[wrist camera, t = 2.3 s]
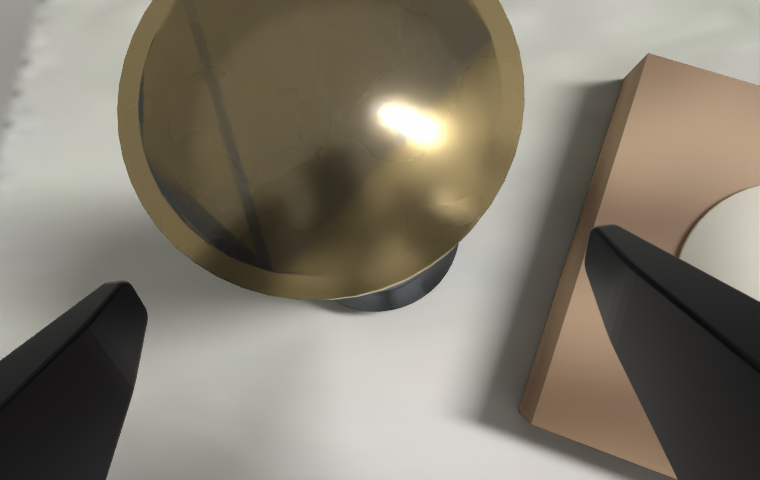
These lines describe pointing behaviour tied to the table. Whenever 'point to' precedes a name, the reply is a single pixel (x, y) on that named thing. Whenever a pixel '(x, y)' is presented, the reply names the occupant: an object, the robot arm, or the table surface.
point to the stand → (651, 240)
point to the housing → (321, 138)
